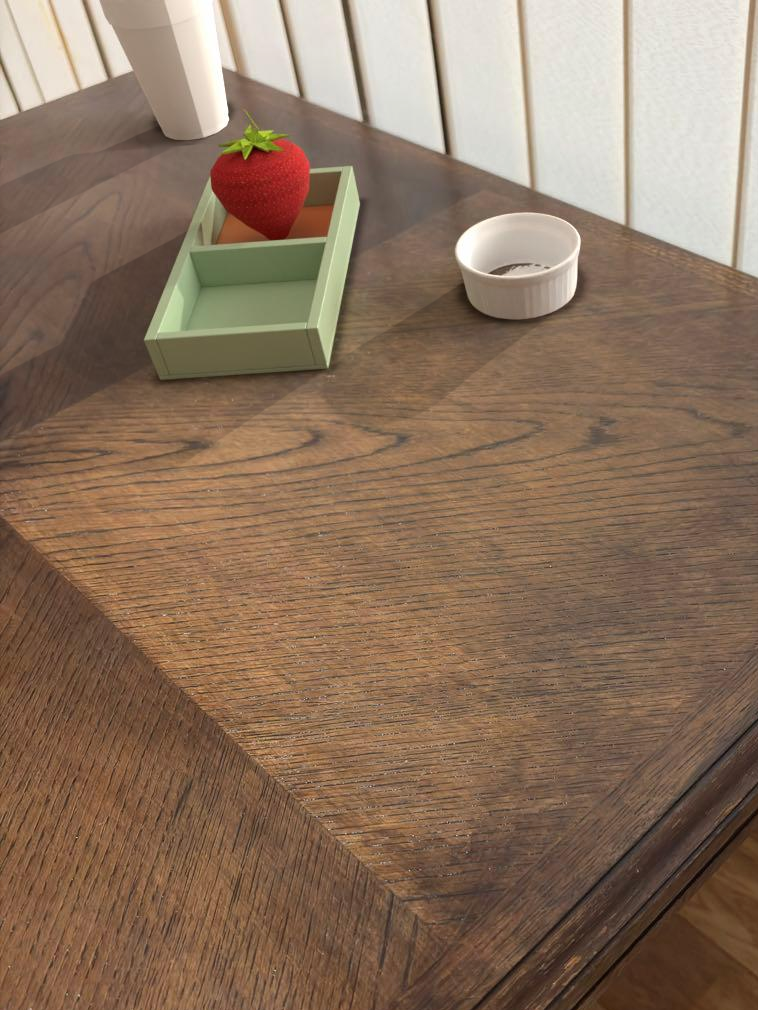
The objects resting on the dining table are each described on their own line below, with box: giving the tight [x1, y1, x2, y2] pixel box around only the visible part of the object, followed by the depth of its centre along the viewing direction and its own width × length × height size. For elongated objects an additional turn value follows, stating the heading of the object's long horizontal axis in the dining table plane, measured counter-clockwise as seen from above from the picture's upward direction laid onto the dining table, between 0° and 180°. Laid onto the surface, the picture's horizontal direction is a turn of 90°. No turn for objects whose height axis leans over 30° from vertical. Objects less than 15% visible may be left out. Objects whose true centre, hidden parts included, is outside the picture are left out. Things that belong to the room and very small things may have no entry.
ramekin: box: [454, 212, 582, 320], centre depth 76 cm, size 9×9×4 cm
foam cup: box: [99, 0, 230, 141], centre depth 97 cm, size 10×9×13 cm
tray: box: [143, 165, 361, 381], centre depth 79 cm, size 12×22×4 cm, turn 1°
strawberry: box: [209, 109, 311, 241], centre depth 80 cm, size 6×8×10 cm
